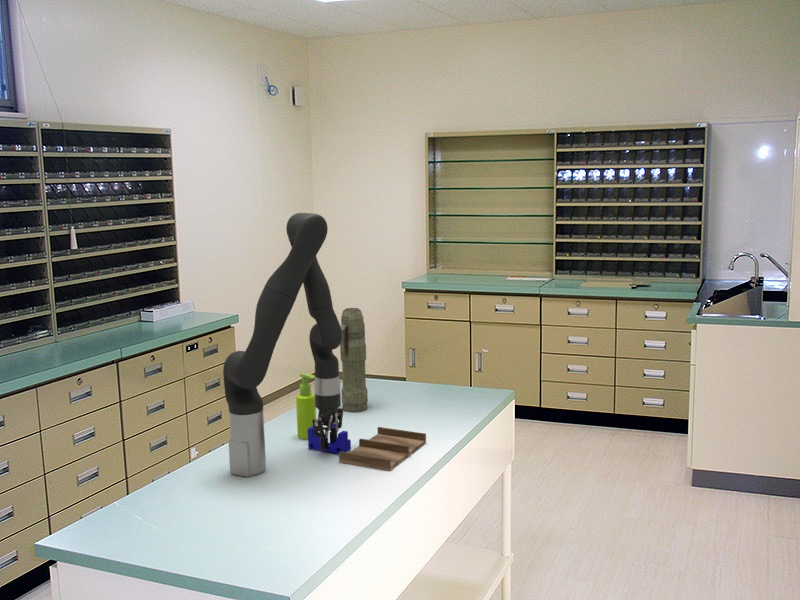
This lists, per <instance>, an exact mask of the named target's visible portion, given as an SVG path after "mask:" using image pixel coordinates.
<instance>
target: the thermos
mask: <svg viewBox="0 0 800 600" xmlns="http://www.w3.org/2000/svg"><path fill="white" fill-rule="evenodd" d="M340 326H341V330H342V341H341V344H340V345H339V349H340V350H339V351H340V360H341V367H342V368H341V369H342V387H341V389H340V393H341V403H342V407H341V408H342V409H343V412H347V413H361V412H365V411H366V410H367V409H368V400H369V398H368V397H369V396H368V388H367V386H366V385H367V381H366V360H367V344H366V330H365V329H366V328H365V322H364V315H363V312H362V310H361V309H359V308H358V307H348V308H345V309H343V310H342V313H341V318H340Z"/></svg>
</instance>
